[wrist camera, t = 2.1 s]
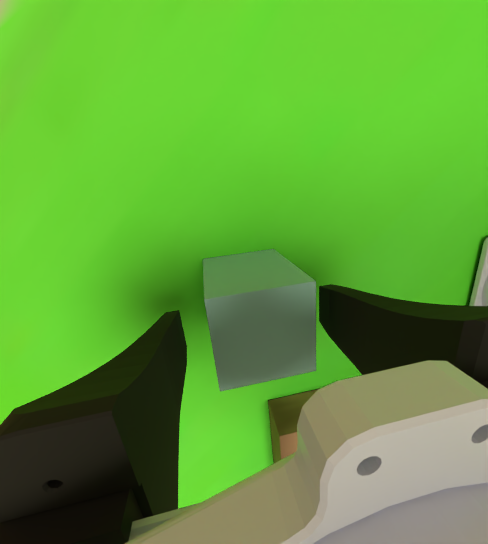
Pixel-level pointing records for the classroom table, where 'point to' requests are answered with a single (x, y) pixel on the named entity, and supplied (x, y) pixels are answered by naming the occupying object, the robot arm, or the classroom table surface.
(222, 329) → the teal block
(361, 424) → the robot arm
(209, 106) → the classroom table surface
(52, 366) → the classroom table surface
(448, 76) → the classroom table surface
